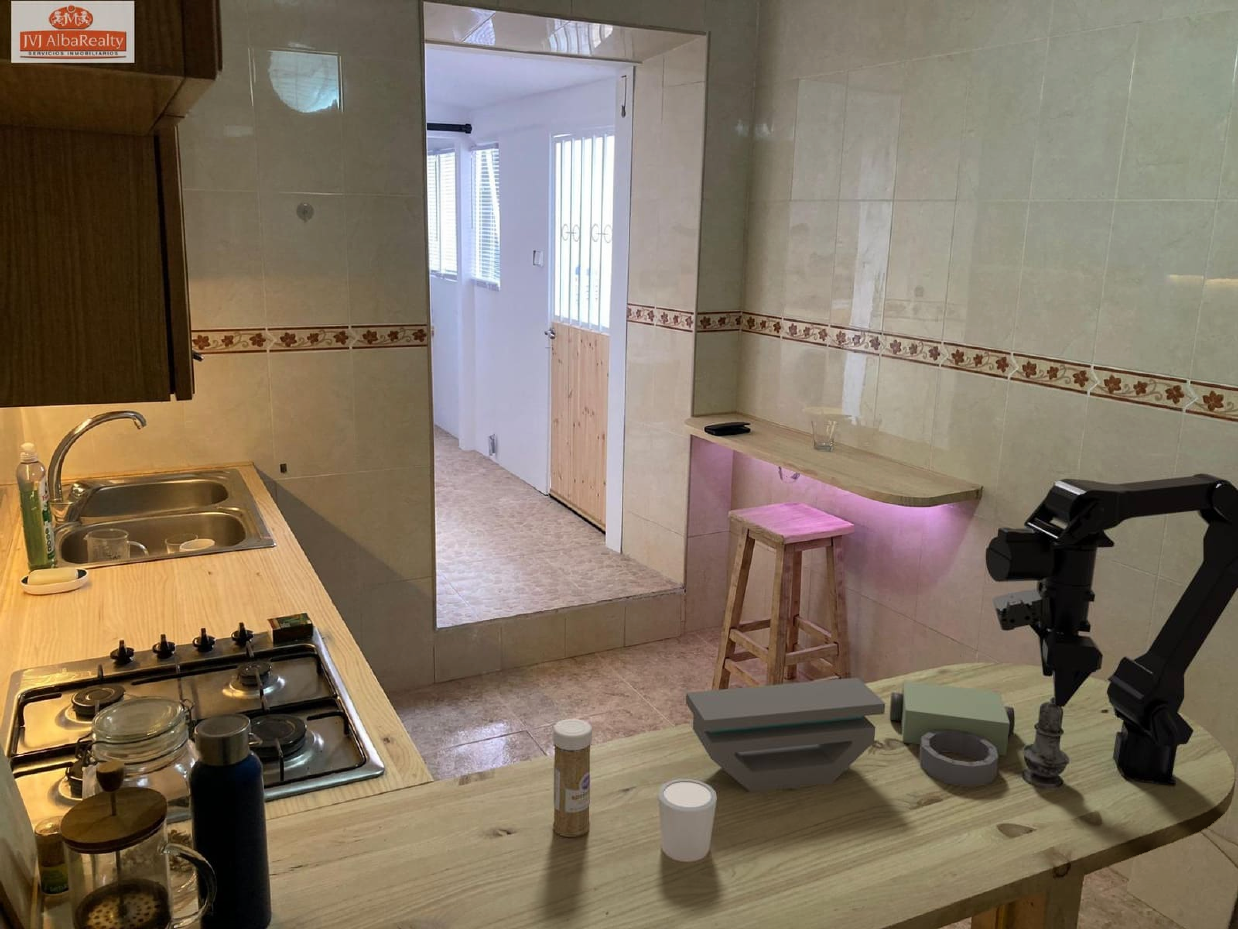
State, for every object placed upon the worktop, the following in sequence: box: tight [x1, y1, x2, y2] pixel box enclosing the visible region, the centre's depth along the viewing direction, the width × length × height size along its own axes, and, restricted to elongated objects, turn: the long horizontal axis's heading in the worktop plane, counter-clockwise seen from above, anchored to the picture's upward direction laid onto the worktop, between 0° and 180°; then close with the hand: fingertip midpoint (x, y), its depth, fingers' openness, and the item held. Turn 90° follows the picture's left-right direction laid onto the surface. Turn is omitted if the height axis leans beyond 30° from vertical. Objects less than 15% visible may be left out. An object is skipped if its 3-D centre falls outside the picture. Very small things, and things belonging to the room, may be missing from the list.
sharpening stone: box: [685, 677, 886, 793], centre depth 129 cm, size 25×8×11 cm, turn 103°
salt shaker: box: [1020, 696, 1070, 790], centre depth 129 cm, size 6×6×12 cm
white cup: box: [657, 778, 718, 863], centre depth 113 cm, size 7×7×7 cm
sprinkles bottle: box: [552, 718, 593, 838], centre depth 115 cm, size 5×5×13 cm
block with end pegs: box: [889, 680, 1016, 788], centre depth 137 cm, size 17×20×5 cm
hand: (1053, 690), depth 127 cm, fingers open, 9 cm apart
